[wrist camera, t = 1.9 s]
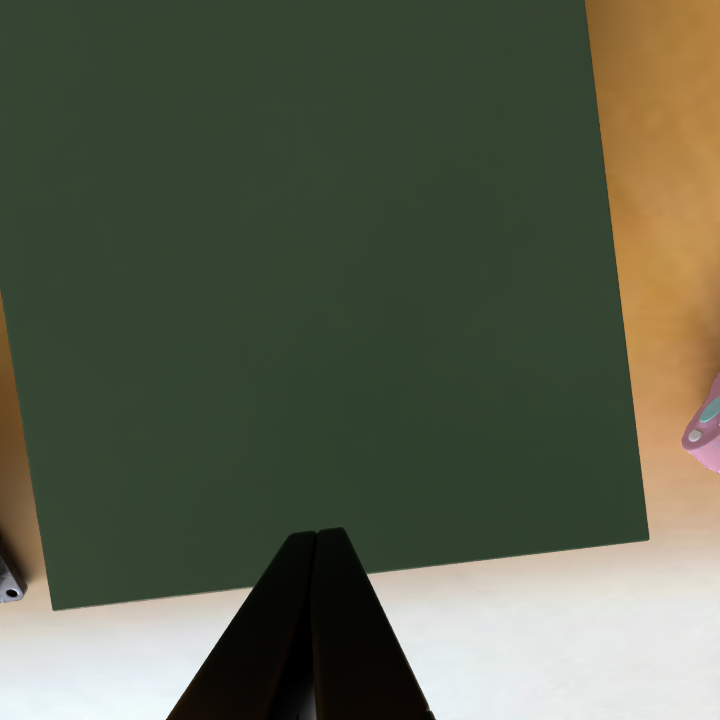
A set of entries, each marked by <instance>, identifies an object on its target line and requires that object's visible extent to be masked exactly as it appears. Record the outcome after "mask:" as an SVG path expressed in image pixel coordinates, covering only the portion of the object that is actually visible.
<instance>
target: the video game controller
mask: <svg viewBox="0 0 720 720" xmlns="http://www.w3.org/2000/svg"><path fill="white" fill-rule="evenodd" d="M682 446H683V448H684V449H685V450H687V451H688V452H689V453H690V454H691V455H692V456H694V457H695V458H696V459H697V460H698V461H700V462H701V463H702V464H703V465H704V466H705V468H706V469H708V470H709V469H711V470H713V471H715V472H717V473H719V474H720V372H719V373H718V374H717V376H716V378H715V379H714V381H713V383H712V387H711V390H710V393H709V395H708V397H707V399H706V400H705V402H704V403H703V405H702V406H701V407H700V409H699V410H698V412H697V413H696V414H695V416H694V417H693V419H692V420H691V421H690V423H689V424H688V426H687V428H686V430H685V432H684V435H683V438H682Z"/></svg>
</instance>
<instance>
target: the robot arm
mask: <svg viewBox="0 0 720 720" xmlns="http://www.w3.org/2000/svg"><path fill="white" fill-rule="evenodd" d="M27 589H28V587H27V584H26V583H25V581H24V579H23V578H22V576H21V574H20V572H19V571H18V569H17V567H16V566H15V564H14V562H13V560H12V559H11V557H10V555H9V554H8V552H7V550H6V549H5V547H4V545H3V543H2V542H1V540H0V603H2V602H10V601H17V600H20V599H22V598H23V596H24V595H25V593H26V591H27ZM166 720H436V719H435V717H434V715H433V713H432V711H430V709H429V705H428V703H427V701H426V698H425V696H424V694H423V692H422V690H421V688H420V686H419V684H418V682H417V680H416V677H415V675H414V673H413V671H412V669H411V667H410V665H409V663H408V661H407V658H406V656H405V654H404V652H403V650H402V648H401V646H400V644H399V642H398V640H397V637H396V635H395V633H394V631H393V629H392V627H391V625H390V623H389V621H388V619H387V616H386V614H385V612H384V610H383V608H382V606H381V604H380V602H379V600H378V598H377V595H376V593H375V591H374V589H373V587H372V585H371V583H370V581H369V579H368V577H367V574H366V572H365V570H364V568H363V566H362V564H361V562H360V560H359V558H358V555H357V553H356V551H355V549H354V547H353V545H352V543H351V541H350V539H349V537H348V534H347V532H346V530H345V529H344V528H343V527H335V528H327V529H321V530H319V532H318V533H317V532H315V531H313V530H311V531H303V532H295V533H291V534H290V535H289V536H288V537H287V538H286V540H285V541H284V543H283V544H282V546H281V547H280V549H279V550H278V552H277V553H276V555H275V556H274V558H273V559H272V561H271V562H270V564H269V565H268V567H267V568H266V570H265V572H264V573H263V575H262V576H261V578H260V579H259V581H258V582H257V584H256V585H255V587H254V588H253V590H252V591H251V593H250V594H249V596H248V597H247V599H246V600H245V602H244V603H243V605H242V606H241V608H240V609H239V611H238V612H237V614H236V615H235V617H234V618H233V620H232V621H231V623H230V624H229V626H228V627H227V629H226V630H225V632H224V633H223V635H222V636H221V638H220V639H219V641H218V642H217V644H216V645H215V647H214V648H213V650H212V651H211V653H210V654H209V656H208V657H207V659H206V660H205V662H204V663H203V665H202V666H201V668H200V669H199V671H198V672H197V674H196V675H195V677H194V678H193V680H192V681H191V683H190V684H189V686H188V687H187V689H186V690H185V692H184V693H183V695H182V696H181V698H180V699H179V701H178V702H177V704H176V705H175V707H174V708H173V710H172V711H171V713H170V714H169V716H168V717H167V719H166Z"/></svg>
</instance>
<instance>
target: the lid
mask: <svg viewBox="0 0 720 720" xmlns="http://www.w3.org/2000/svg"><path fill="white" fill-rule="evenodd" d="M0 291H1V297H2V303H3V309H4V316H5V322H6V328H7V334H8V340H9V346H10V352H11V358H12V365H13V371H14V377H15V383H16V389H17V395H18V401H19V407H20V414H21V420H22V426H23V432H24V438H25V444H26V450H27V456H28V463H29V469H30V475H31V481H32V487H33V493H34V499H35V505H36V512H37V518H38V524H39V530H40V536H41V542H42V548H43V554H44V561H45V567H46V573H47V579H48V585H49V591H50V597H51V603H52V610H53V611H62V610H71V609H79V608H87V607H96V606H104V605H112V604H121V603H129V602H138V601H146V600H154V599H163V598H171V597H180V596H188V595H196V594H205V593H213V592H222V591H230V590H238V589H247V588H254V587H255V585H256V584H257V582H258V581H259V579H260V578H261V576H262V575H263V573H264V572H265V570H266V568H267V567H268V565H269V564H270V562H271V561H272V559H273V558H274V556H275V555H276V553H277V552H278V550H279V549H280V547H281V546H282V544H283V543H284V541H285V540H286V538H287V537H288V536H289V535H290V534H291V533H295V532H303V531H311V530H313V531H315V532H317V533H318V532H319V530H321V529H327V528H335V527H343V528H344V529H345V530H346V532H347V534H348V537H349V539H350V541H351V543H352V545H353V547H354V549H355V551H356V553H357V555H358V558H359V560H360V562H361V564H362V566H363V568H364V570H365V572H366V574H372V573H381V572H389V571H398V570H406V569H414V568H423V567H431V566H440V565H448V564H456V563H465V562H473V561H481V560H490V559H498V558H507V557H515V556H523V555H532V554H540V553H549V552H557V551H565V550H574V549H582V548H590V547H599V546H607V545H616V544H624V543H632V542H641V541H648V540H649V530H648V522H647V513H646V505H645V497H644V489H643V480H642V472H641V464H640V456H639V447H638V439H637V431H636V422H635V414H634V406H633V398H632V389H631V381H630V373H629V364H628V356H627V348H626V340H625V331H624V323H623V315H622V307H621V298H620V290H619V282H618V273H617V265H616V257H615V249H614V240H613V232H612V224H611V215H610V207H609V199H608V191H607V182H606V174H605V166H604V158H603V149H602V141H601V133H600V124H599V116H598V108H597V100H596V91H595V83H594V75H593V66H592V58H591V50H590V42H589V33H588V25H587V17H586V9H585V0H0Z"/></svg>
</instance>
